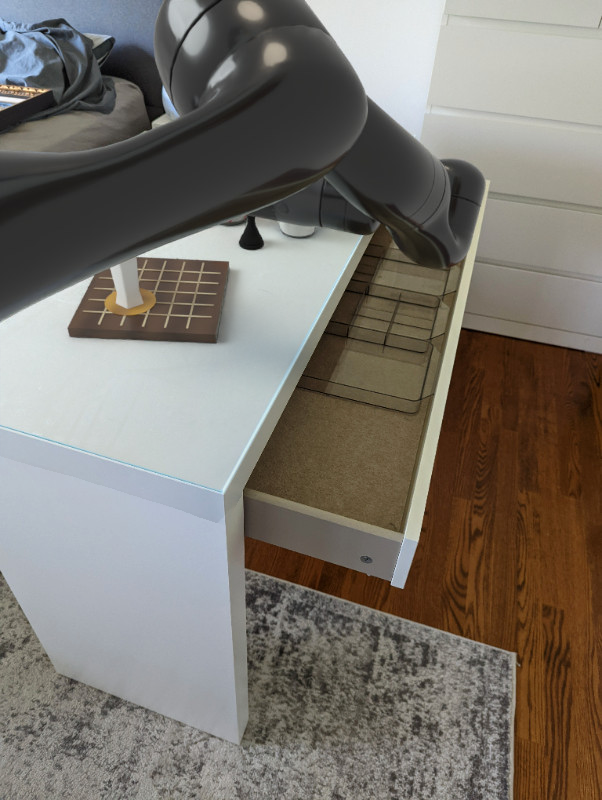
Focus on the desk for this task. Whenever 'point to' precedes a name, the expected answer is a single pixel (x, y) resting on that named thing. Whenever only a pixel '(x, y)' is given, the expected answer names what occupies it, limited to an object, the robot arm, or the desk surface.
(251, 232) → the chess piece
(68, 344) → the desk surface
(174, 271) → the grid board
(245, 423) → the desk surface
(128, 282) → the perfume bottle
